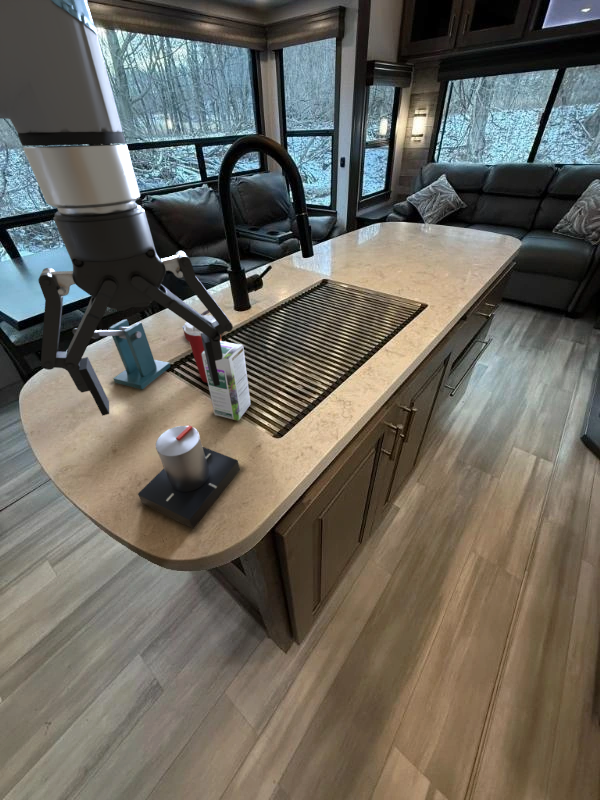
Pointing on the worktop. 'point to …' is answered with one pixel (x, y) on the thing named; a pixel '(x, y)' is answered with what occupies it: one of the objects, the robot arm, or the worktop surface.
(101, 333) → the lever
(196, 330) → the paper cup
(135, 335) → the teal lever stand
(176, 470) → the dial
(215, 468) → the control panel
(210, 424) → the worktop surface
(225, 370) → the syrup box
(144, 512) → the worktop surface
